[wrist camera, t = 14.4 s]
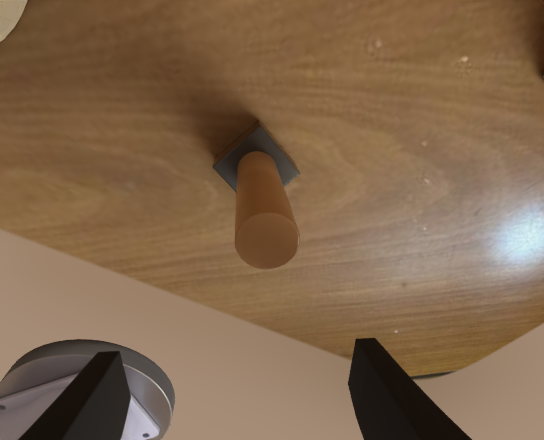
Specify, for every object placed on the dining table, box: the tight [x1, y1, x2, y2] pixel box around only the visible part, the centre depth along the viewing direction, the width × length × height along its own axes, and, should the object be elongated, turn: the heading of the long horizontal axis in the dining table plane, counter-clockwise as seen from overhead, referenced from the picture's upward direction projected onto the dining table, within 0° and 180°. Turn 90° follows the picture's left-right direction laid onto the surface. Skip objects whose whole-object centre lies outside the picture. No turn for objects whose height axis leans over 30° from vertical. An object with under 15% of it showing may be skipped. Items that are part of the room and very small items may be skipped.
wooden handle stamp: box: [213, 120, 300, 269], centre depth 14 cm, size 3×3×9 cm
